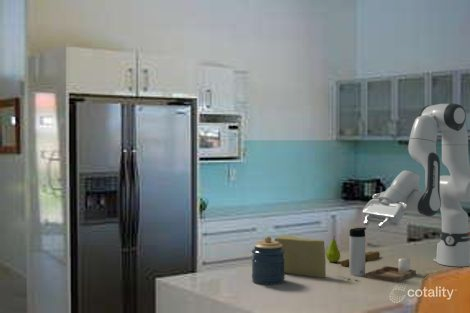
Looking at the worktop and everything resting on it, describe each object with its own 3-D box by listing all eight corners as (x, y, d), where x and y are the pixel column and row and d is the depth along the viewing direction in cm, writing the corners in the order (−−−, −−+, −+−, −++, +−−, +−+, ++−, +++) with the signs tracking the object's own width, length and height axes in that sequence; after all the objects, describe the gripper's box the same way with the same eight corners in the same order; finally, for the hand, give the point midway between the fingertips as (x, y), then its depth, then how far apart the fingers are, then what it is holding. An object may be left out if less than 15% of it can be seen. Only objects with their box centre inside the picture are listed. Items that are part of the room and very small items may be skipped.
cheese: (331, 275, 247) (331, 239, 247) (318, 280, 240) (318, 242, 239) (287, 268, 262) (287, 233, 261) (273, 272, 254) (273, 236, 254)
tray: (385, 272, 253) (385, 265, 253) (415, 276, 244) (415, 270, 244) (365, 280, 239) (365, 273, 239) (396, 285, 231) (396, 278, 231)
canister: (288, 278, 242) (288, 234, 242) (280, 286, 230) (279, 239, 229) (257, 276, 246) (257, 233, 246) (247, 283, 234) (247, 238, 234)
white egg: (401, 272, 247) (401, 257, 247) (411, 274, 244) (411, 259, 244) (396, 274, 244) (396, 259, 244) (406, 275, 241) (406, 260, 241)
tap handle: (340, 260, 265) (375, 250, 287) (340, 266, 265) (375, 256, 287) (346, 260, 263) (381, 251, 285) (346, 268, 263) (381, 257, 285)
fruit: (323, 262, 274) (323, 235, 274) (331, 260, 279) (331, 234, 279) (335, 264, 270) (335, 237, 270) (343, 261, 275) (343, 235, 274)
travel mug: (366, 279, 241) (366, 228, 240) (349, 278, 242) (349, 228, 241) (365, 275, 247) (366, 226, 246) (349, 275, 248) (349, 226, 248)
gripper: (413, 208, 243) (394, 234, 239) (379, 204, 262) (360, 228, 257) (405, 198, 241) (385, 223, 237) (371, 194, 259) (352, 218, 255)
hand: (372, 226), depth 247 cm, fingers open, 8 cm apart
